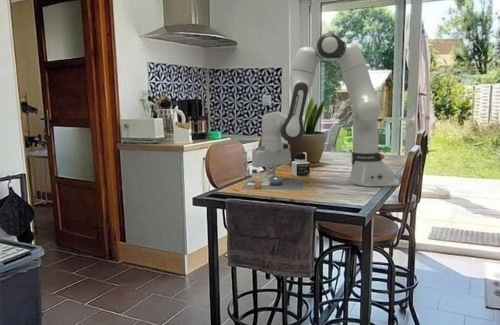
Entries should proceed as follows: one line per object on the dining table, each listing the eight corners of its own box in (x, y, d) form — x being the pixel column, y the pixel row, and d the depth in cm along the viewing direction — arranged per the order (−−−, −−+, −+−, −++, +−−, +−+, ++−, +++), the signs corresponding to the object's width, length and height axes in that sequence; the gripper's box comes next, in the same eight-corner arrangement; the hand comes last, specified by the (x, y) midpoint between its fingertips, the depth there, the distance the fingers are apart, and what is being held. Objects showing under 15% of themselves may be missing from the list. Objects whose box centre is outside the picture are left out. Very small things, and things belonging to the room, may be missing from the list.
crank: (285, 183, 192) (285, 172, 192) (277, 185, 188) (277, 174, 187) (256, 179, 203) (256, 168, 202) (248, 181, 198) (248, 170, 197)
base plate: (303, 182, 200) (303, 169, 199) (302, 192, 181) (302, 178, 180) (248, 181, 204) (248, 169, 203) (241, 191, 185) (241, 177, 184)
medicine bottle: (296, 177, 213) (296, 153, 211) (291, 175, 220) (291, 151, 218) (309, 176, 215) (310, 152, 213) (304, 174, 221) (304, 151, 220)
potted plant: (327, 168, 237) (328, 95, 231) (288, 168, 238) (288, 96, 232) (322, 162, 258) (322, 95, 252) (286, 162, 259) (286, 96, 252)
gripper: (256, 148, 190) (256, 178, 192) (292, 144, 201) (292, 173, 203) (248, 146, 195) (249, 176, 198) (284, 143, 206) (284, 171, 208)
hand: (271, 175), depth 200 cm, fingers closed
